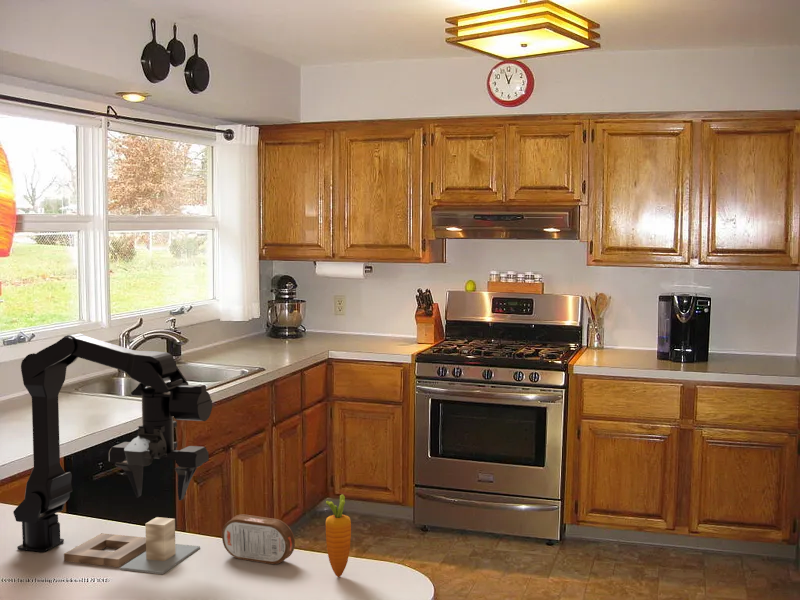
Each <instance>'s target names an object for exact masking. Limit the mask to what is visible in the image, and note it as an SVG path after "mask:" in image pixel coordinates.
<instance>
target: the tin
mask: <svg viewBox="0 0 800 600" xmlns="http://www.w3.org/2000/svg"><path fill="white" fill-rule="evenodd" d="M295 539H296V538H295V535H294V533H293V531H292V529H291V528H290V526H289V525H288V524H287V523H286V522H284V521H282V520H281V519H277V518H270V517H265V516H258V515H249V514H243V513H242V514H241V513H240V514H237V515H234V516H233V517H232V518H231V519H230V520H228V521H227V522H226V523H225V524H224V525H223V527H222V532H221V540H222V544H223V547H224V549H225V550H226V552H227V553H228V554H229V555H230V556H232V557H233V558H235V559H238V560H244V561H249V562H250V561H251V562H256V563H263V564H268V565H278V564H281V563H283V562H284V561H285V560H287V559H288V558H290V557H291V556H292V554H293V553H294V551H295V547H296V546H295V545H296V540H295Z"/></svg>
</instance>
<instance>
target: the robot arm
mask: <svg viewBox="0 0 800 600" xmlns="http://www.w3.org/2000/svg"><path fill="white" fill-rule="evenodd" d="M78 358H80V359H83V360H86V361H90V362H92V363H96V364H98V365H102V366H106V367H109V368H113V369H116V370H119V371H122V372H124V373H126V374H127V376H128V377H129V378H130V379H132V380H134V381H136V382H138V385H137V387H136V388H134V389H133V390H132V391H131V392H130V395H131V396H135V397H136V396H139V397H141V418H142V419H141V421H142V423H141V425H139V426H138V428H137V435H136V437H134V438H133V439H131V441H123V442H121V443H118V444H116V445H114V446H111V448H110V449H109V451H108V462H109V463H114V466H116V467H118V468H120V469H122V470H123V471H124V472H125V474H126V475H127V478H128V480H129V482H130V485H131V487H132V490H133V492H134V495H135V497H136V498H139V497H141V496H142V491H143V482H144V481H143V480H144V479H143V478H144V467H147V466H150V465H151V464H152V463H153V461H154V460H165V461H166V460H167V461H175V464H176V465H177V467H175V468H174V471H175V472H176V474H177V497H178V501H183V499H184V498H185V495H186V492H187V490H188V488H189V485H190V483H191V480H192V479H193V477H194V475H195V473H196V471H197V469H198V468H199V467H201V466H202V465H203V464H205V463H207V462H209V460H210V459H209V457H210V456H209V451H208V450H207V448H206V446H199V445H198V446H197V445H188V446H186V447H184V448H181V449H180V450H179V449H178V450H177V448H178V441H174V440H175V439H174V437H175V436H174V428H177V426H178V425H177V423H178V422H177V421H176V420H178V421H194V422H206V421H207V420H208V419H209V418H210V416H211V415H212V414H211V413H212V410H213V400H212V398H211V395H210V393H209V391H207V386H206V384H197V385H193V384H191V385H190V384H189V382H188V381H187V379H186V377H185V376H184V375H183V373H182V372H181V370H180V368H178V365H177V361H176V360H175V357H174V355H172V354H171V353H169V352H166V351H154V350H134V349H130V348H127V347H124V346H122V345H117V344H114V343H110V342H107V341H104V340H100V339H96V338H93V337H90V336H88V335H85V334H83V333H74V334H69V335H65V336H63V337H62V338H61V339H58V341H56V342H55V343H53V344H51V345H49V346H47V347H45V348H43V349H41V350H40V351H37V352H32V353H29V354H27V355H26V356H25V357H24V359H22V360H21V363H20V372H21V377H22V381H23V382H22V383H23V385H24V387H25V389H26V390H27V391H28V393H29V395H30V396H31V397H30V398H31V421H32V452H33V453H32V454H33V455H32V457H33V458H32V459H33V467H32V471H31V472H30V475H29V477H28V479H27V481H26V485H25V492H24V499H23V500H22V501H21V502H20V503H19V504H18V505H17V506H16V507H15V509H14V510H13V511H12V512H13V513H12V514H13V516H14V519H15V521H16V522H20V523H21V528H22V529H21V530H22V532H21V533H22V534H21V535H22V543H21V544H20V545H18V546H16V549H17V550H22V551H30V552H38V553H39V552H41V553H44V552H46V551H49V550H51V549H53V548H55V547H57V546H58V545H61V544H62V543H64V542H65V539H63V538H61V523H60V522H59V514H57V513H59V512H62V511H63V510H64V508H65V504H66V502H67V501H68V500H69V499H70V498H71V493H72V492H74V490H73V486H72V478H73V477H72V476H73V475H72V472H71V471H68V472H65V470H64V469H63V466H62V465H61V456H60V455H61V453H60V451H61V450H60V449H61V448H60V419H59V417H60V413H59V412H60V411H59V409H60V408H59V407H60V406H59V393H60V392H61V390H62V388H63V385H64V383H65V381H66V375H67V367H69V366H70V365H72V364H73V363H75V362H76V361H77V360H78ZM174 419H175V420H174Z"/></svg>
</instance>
